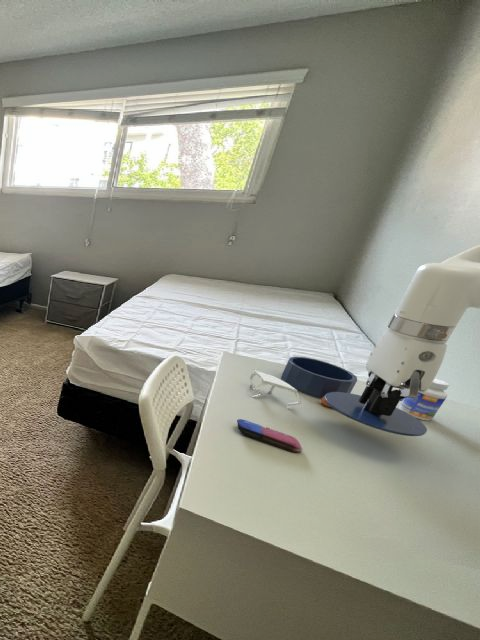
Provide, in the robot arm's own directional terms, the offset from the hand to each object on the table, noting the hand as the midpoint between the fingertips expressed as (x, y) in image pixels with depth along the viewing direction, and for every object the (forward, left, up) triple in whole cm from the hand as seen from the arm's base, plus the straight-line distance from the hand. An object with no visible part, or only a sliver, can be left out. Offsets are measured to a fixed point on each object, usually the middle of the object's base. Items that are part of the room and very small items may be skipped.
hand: (374, 408), depth 73 cm
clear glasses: (+12, -11, -8) cm, 18 cm away
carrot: (-10, -14, -7) cm, 19 cm away
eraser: (+19, +10, -8) cm, 23 cm away
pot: (-2, -24, -8) cm, 26 cm away
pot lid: (0, 0, -1) cm, 1 cm away
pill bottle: (-20, -20, -8) cm, 30 cm away
